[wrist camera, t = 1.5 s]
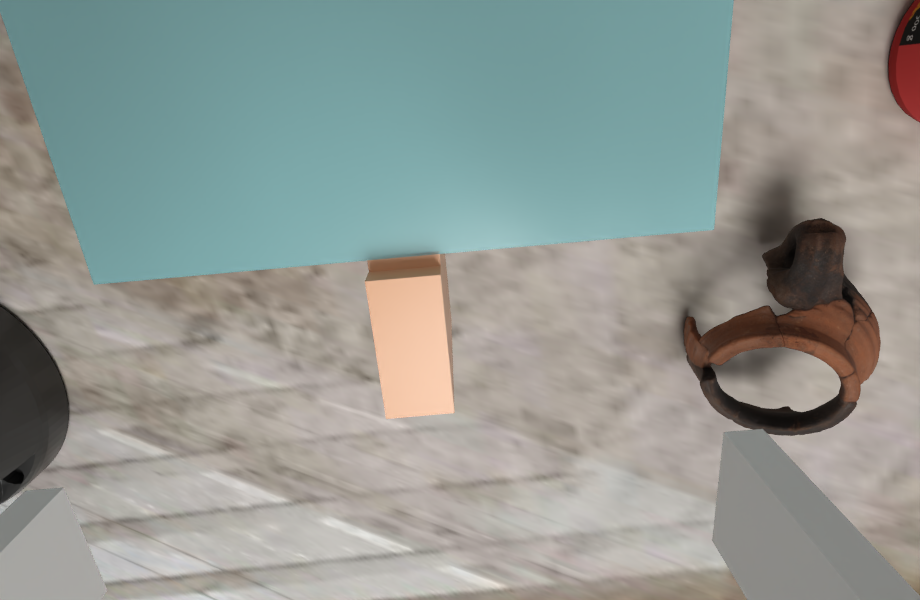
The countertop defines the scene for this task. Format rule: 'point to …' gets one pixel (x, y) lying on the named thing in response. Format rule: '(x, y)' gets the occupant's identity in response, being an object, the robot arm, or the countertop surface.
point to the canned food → (907, 63)
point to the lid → (373, 139)
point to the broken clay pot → (796, 331)
